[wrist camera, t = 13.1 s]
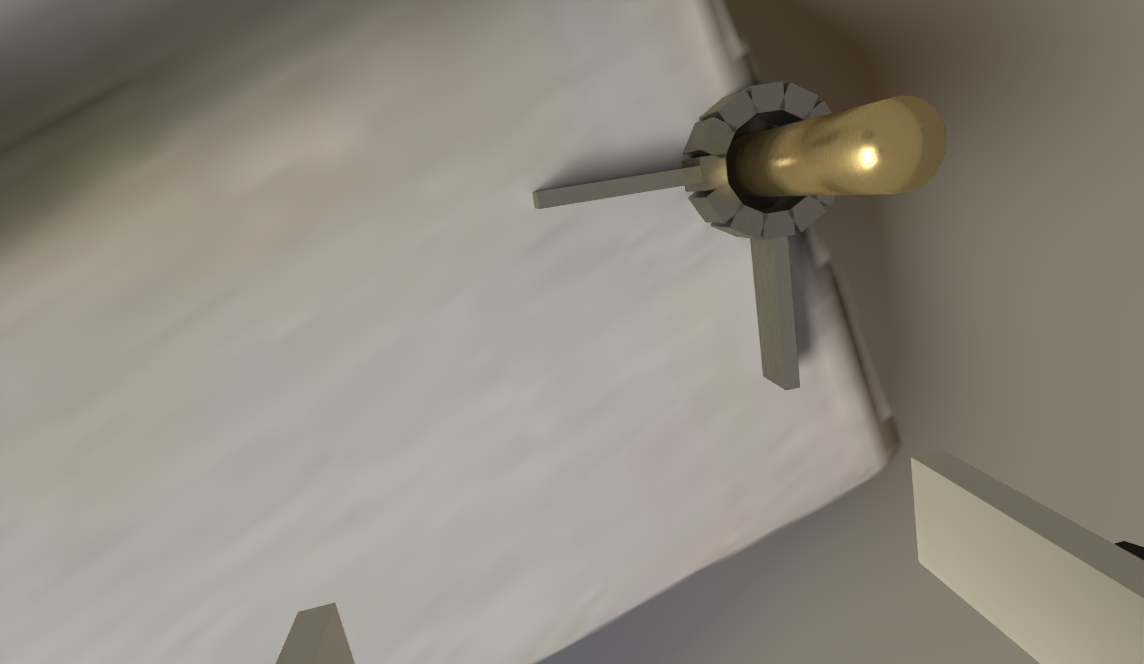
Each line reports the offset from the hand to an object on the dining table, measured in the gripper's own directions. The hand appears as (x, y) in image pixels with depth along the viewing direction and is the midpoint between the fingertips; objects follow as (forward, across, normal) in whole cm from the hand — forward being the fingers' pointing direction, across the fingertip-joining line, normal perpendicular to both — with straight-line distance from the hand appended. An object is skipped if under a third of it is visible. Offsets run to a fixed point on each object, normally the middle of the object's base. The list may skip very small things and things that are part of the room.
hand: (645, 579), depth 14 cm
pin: (+29, +16, +7) cm, 34 cm away
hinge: (+29, +11, +2) cm, 32 cm away
